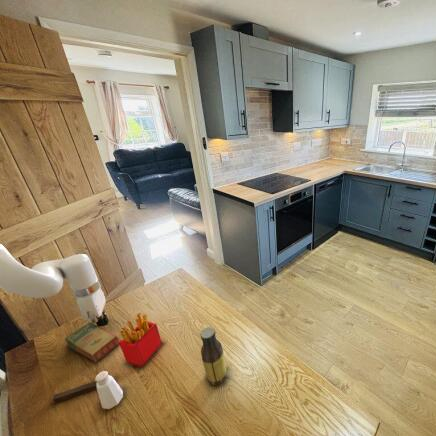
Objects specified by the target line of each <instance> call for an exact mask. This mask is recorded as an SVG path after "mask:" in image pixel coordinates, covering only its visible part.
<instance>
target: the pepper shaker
mask: <svg viewBox="0 0 436 436" xmlns="http://www.w3.org/2000/svg"><path fill="white" fill-rule="evenodd" d="M112 376H113V375H110V374H109V372H108V371H107V370H103V371H100V372H99V373H98V374H97V375H96V376H95V379H94V381H97V389H96V390H97V391H96V392H97V395H98V398H99V401H100V405H101V408H102V409H104V410H105V409H106V410H110V409H112V408H114V407H116V406H118V405H119V404H120V402H121V400H122V399H123V398H124V392H123V389H122V387H121V386H120V385H119V384H118V382H117V381H116V379H115V378H114V376H113V377H112Z"/></svg>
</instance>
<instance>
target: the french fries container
mask: <svg viewBox="0 0 436 436" xmlns="http://www.w3.org/2000/svg"><path fill="white" fill-rule="evenodd" d="M136 316H137V318H135V323H136V327H135V328H134V325H133V324H132V322H131V320H127V321H126V324H127V326H128V327H129V329H130V330H129V329H127V328H126V326H125V325H123V326H122V327H120V328H121V329H120V331H119V334H120V335H121V337H122V339H120V340H119V344H118V345H119V347H120V349H121V352H122V354H123V357H124V359H125V361H126V362H128V363H127V364H130V365H132V366H136V367H139V368H142V367H143V366H144V365H145V364H146V363H147V362H148V361H149V360H150V358H151V357H152V356H153V355H154V354H155V353H156V352H157V351H158V349H159V348H160V347H161V346H162V345H163V342H162V337H161V334H160V332H159V328H158V324H157V323H155V322H151V321H148V317H147V314H145V313H144V314H143V315H141V312H138V313H136Z"/></svg>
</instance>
